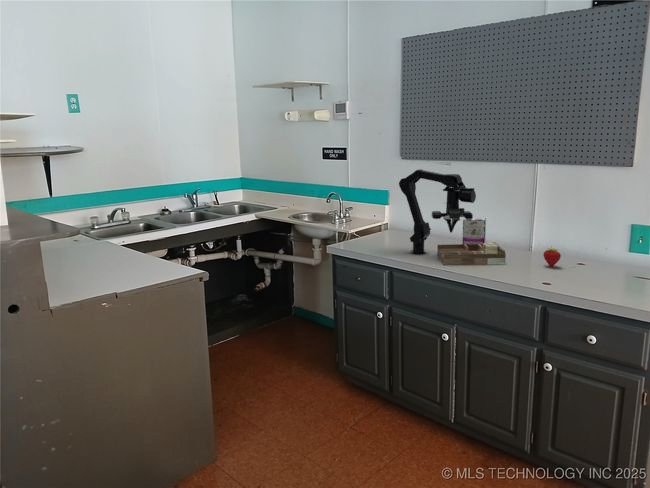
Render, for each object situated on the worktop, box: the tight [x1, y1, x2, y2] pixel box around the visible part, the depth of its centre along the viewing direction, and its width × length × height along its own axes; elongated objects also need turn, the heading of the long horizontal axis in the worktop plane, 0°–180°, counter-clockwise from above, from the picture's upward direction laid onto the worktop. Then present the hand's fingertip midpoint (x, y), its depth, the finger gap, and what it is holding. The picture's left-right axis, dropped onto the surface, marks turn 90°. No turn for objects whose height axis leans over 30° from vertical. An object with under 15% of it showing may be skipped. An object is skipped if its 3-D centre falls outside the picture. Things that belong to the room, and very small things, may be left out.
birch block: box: [483, 242, 499, 254], centre depth 243 cm, size 6×6×4 cm
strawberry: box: [543, 246, 562, 268], centre depth 226 cm, size 6×8×10 cm
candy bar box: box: [462, 217, 487, 244], centre depth 261 cm, size 11×5×16 cm, turn 68°
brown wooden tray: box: [437, 241, 507, 266], centre depth 244 cm, size 20×28×6 cm
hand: (450, 232), depth 246 cm, fingers closed
